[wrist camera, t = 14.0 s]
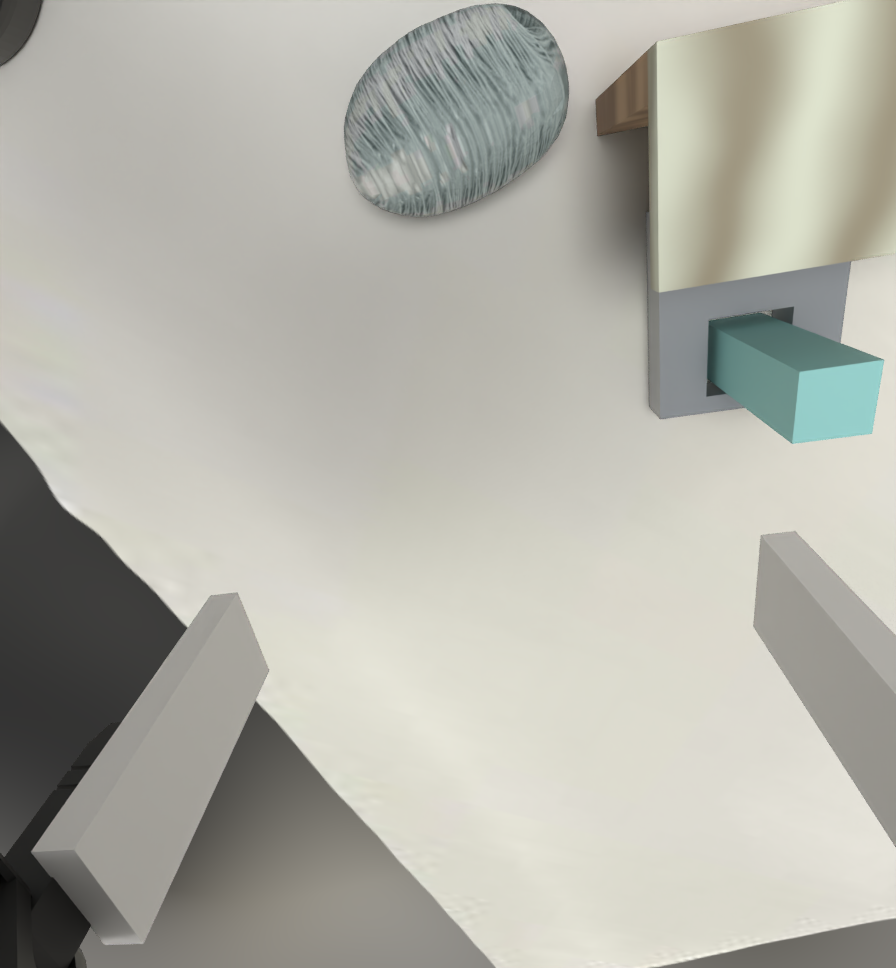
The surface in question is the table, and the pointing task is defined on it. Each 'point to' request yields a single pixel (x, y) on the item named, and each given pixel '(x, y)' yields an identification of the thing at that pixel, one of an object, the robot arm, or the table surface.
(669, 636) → the table surface
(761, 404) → the peg
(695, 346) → the socket
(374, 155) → the grey yarn spool
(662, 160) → the wood grain block
